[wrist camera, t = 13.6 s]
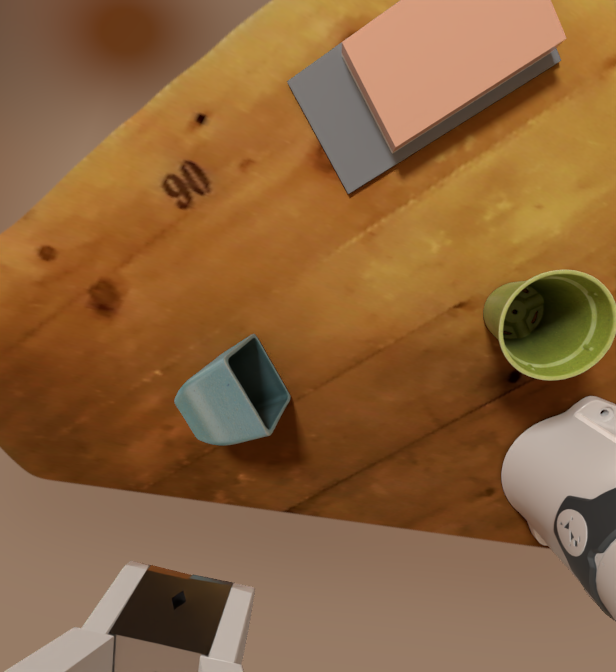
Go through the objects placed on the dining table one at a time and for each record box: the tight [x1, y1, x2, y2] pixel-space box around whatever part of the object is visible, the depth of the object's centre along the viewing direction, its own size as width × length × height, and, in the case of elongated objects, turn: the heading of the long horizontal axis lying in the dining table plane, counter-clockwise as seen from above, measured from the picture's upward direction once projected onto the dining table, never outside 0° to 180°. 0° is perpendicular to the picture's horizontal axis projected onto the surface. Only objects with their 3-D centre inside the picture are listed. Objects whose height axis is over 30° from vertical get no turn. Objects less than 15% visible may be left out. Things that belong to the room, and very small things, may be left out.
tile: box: [342, 0, 566, 154], centre depth 33 cm, size 2×10×16 cm
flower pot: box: [174, 334, 291, 445], centre depth 40 cm, size 9×9×9 cm
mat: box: [287, 2, 561, 194], centre depth 35 cm, size 22×12×1 cm, turn 121°
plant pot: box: [483, 270, 616, 380], centre depth 35 cm, size 9×9×9 cm
